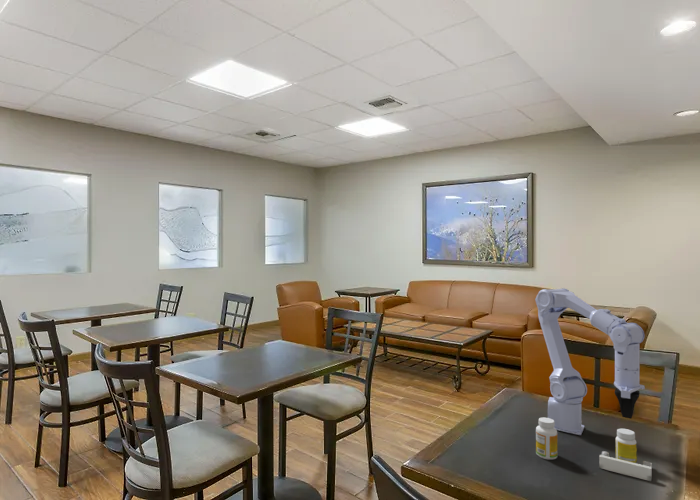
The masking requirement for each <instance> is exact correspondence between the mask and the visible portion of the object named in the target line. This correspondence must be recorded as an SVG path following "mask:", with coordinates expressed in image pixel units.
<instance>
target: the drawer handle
mask: <svg viewBox="0 0 700 500" xmlns="http://www.w3.org/2000/svg"><path fill="white" fill-rule="evenodd" d="M598 459H599V463H598V464H599V466H598V468H599V469H602V470H606V471H610V472H614V473H618V474H621V475H625V476H629V477H633V478H637V479H641V480H645V481H648V482H652V473H653V472H652V469H653V468H652V467H653V465H652V464H653V463H652V462H650V461H648V460H643V461H642V464H640V463H638V462H637V463H633V462H628V461H624V460H620V459H616V457H612V456H611V457H610V453H609V451H606V450H605V451H604V450H602V451H601V454H599V457H598Z"/></svg>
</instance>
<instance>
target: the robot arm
mask: <svg viewBox="0 0 700 500" xmlns="http://www.w3.org/2000/svg"><path fill="white" fill-rule="evenodd" d="M534 301H535V304H536V307H537V315H538V321H539V323H540V324H539V325H540V328H541V331H542V334H543V337H544V338H543V339H544V341H545V344H546V348H547V352H548V355H549V359H550V361H551V365H552V368H553V371H552V372H551V374H550V376H549V377H548V378H549V383H550V384H549V385H550V386H549V388H550V393H551V395H552V396H549V398H548V401H547V418H550V419H553V420H554V422H555V426H554V428H555V429H556V430H557V431H559V432H564V433H568V434H573V435H578V436H582V433H583V431H584V429H585V425H584V424H582V402H583V399H584V397H585V396H586V395H587V393H588V387H587V384H586V383H585V381H584V379H583V378H582V376H581V373H580V372H579V371H578V370H576V369H575V368H574V367H573V365H572V362H571V359H570V356H569V352H568V349H567V346H566V343H565V341H564V340H565V339H564V337H563V332H562V330H561V327H560V323H559V320H558V319H559V318H560V316H561V314H563V313H564V312H565V311H566V310H567V309H568V308H569V309H570V310H572V311H574V312H576V313H577V314H580V315H581V316H584V317H585V318H587V319H589V322H590V325H591V326H593V327H594V328H596V329H598V330H599V331H601V332H602V333H604V334H605V335H606V336H608V337H609V338H610V340H611V342H612V343H613V349H614V381H613V385H614V387H615V389H614V394H615V396H616V398H617V400H618V403H619V408H620V412H621V416H622V418H626V419H632V418H633V415H634V409H635V405H636V403H637V401H638V399H639V397H640V390H643V391H644V390H645V389H646V388H645V385H643V384H640V381H641V380H640V370H641V369H640V358H641V357H640V344H641V343H643V341H644V339H645V331H644V330H643V328H642V327H641V326H640V325H639V324H638V323H636V322H627V321H626V319H624V318H620V317H618V316H616V315H615V314H613V313H612V312H611V310H610V309H607V308H606V309H605V308H598V309H596V308H595V307H593V306H592V305H590V304H589V303H587V302H586V301H584V300H583V299H582V298H580V297H578V295H576V294H575V293H574V292H573V291H570V290H569V289H568V288H565V287H563V288H562V287H561V288H554V289H553V288H552V289H551V288H550V289H546V288H544V289H541V290H539V291H538V293H537V294H536V297H535V300H534Z"/></svg>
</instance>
